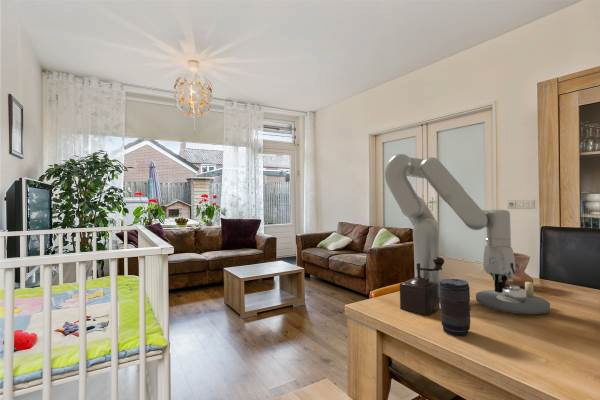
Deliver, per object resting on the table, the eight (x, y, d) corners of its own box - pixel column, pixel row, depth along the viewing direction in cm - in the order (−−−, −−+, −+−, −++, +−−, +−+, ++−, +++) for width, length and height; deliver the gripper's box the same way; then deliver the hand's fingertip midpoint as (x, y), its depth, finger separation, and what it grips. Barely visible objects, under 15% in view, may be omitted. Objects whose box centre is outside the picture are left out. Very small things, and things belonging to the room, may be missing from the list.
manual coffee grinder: (429, 316, 104) (428, 263, 104) (399, 309, 112) (398, 259, 112) (447, 305, 115) (446, 256, 115) (419, 299, 123) (418, 253, 123)
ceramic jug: (529, 293, 127) (529, 258, 127) (489, 286, 138) (489, 254, 138) (537, 285, 140) (537, 253, 140) (500, 279, 150) (499, 250, 150)
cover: (516, 303, 106) (516, 289, 106) (498, 297, 113) (497, 284, 113) (531, 301, 108) (531, 287, 108) (512, 295, 115) (511, 282, 115)
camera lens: (444, 324, 98) (443, 276, 98) (473, 330, 93) (472, 280, 93) (436, 333, 92) (435, 282, 92) (467, 340, 86) (466, 286, 87)
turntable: (515, 317, 98) (514, 296, 98) (462, 297, 120) (461, 280, 120) (567, 309, 104) (566, 290, 104) (507, 291, 125) (507, 275, 125)
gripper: (474, 241, 122) (475, 287, 122) (509, 245, 108) (510, 298, 108) (489, 239, 124) (491, 285, 124) (525, 244, 110) (527, 296, 110)
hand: (500, 291), depth 116 cm, fingers closed
